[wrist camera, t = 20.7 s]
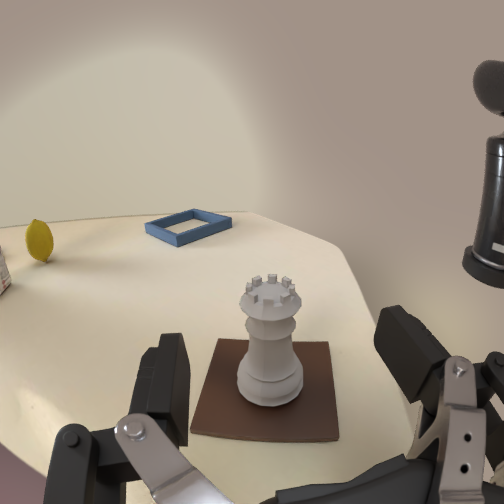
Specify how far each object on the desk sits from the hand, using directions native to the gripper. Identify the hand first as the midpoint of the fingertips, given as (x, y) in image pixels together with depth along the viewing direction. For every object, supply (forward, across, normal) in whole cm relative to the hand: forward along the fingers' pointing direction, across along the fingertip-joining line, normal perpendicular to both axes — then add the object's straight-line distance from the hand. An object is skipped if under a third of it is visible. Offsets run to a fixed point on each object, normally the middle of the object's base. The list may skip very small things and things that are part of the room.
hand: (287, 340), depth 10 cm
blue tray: (+40, +9, +8) cm, 42 cm away
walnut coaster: (+4, 0, +8) cm, 10 cm away
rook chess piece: (+4, 0, +8) cm, 9 cm away
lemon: (+31, +35, +9) cm, 48 cm away
